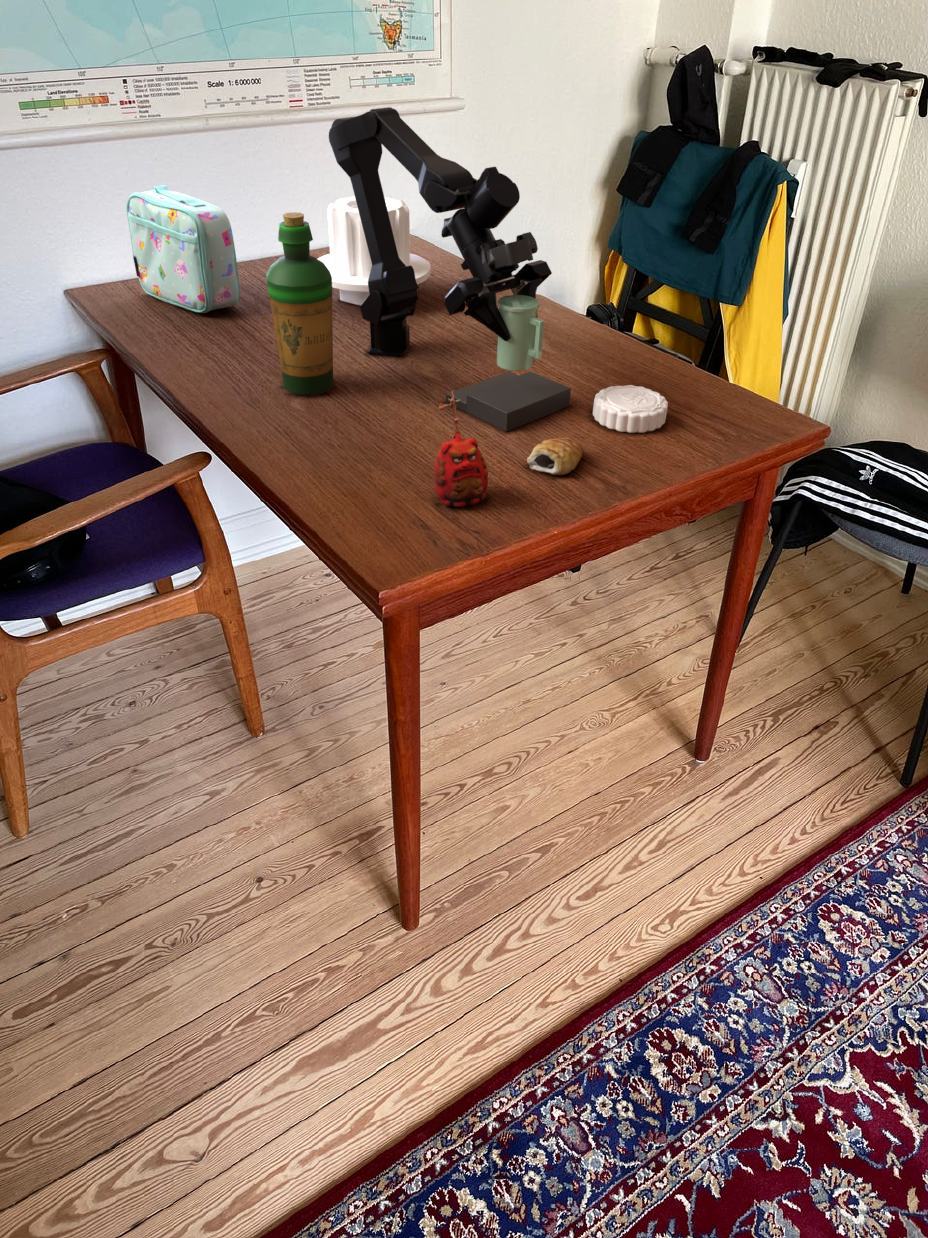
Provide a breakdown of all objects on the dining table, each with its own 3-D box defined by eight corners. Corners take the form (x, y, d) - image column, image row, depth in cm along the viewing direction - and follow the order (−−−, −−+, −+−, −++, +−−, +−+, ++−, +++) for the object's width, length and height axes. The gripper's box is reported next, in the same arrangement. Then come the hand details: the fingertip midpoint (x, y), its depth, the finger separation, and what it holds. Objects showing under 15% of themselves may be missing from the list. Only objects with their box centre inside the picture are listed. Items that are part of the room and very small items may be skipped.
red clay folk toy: (445, 514, 124) (446, 413, 115) (425, 491, 129) (424, 391, 120) (495, 503, 127) (499, 403, 117) (473, 480, 132) (476, 382, 122)
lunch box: (130, 292, 194) (108, 183, 180) (171, 281, 200) (152, 175, 187) (207, 323, 180) (189, 208, 167) (248, 310, 186) (234, 198, 173)
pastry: (555, 445, 141) (557, 422, 139) (593, 457, 138) (596, 434, 136) (523, 468, 135) (525, 444, 133) (562, 481, 132) (565, 458, 130)
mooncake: (680, 423, 148) (684, 402, 146) (624, 440, 143) (627, 419, 141) (632, 396, 156) (635, 376, 154) (577, 411, 151) (579, 391, 149)
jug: (486, 362, 147) (489, 300, 141) (515, 352, 150) (518, 291, 144) (523, 379, 142) (528, 315, 136) (552, 368, 145) (558, 306, 139)
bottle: (289, 404, 151) (270, 227, 134) (269, 380, 158) (249, 210, 141) (349, 393, 155) (338, 219, 138) (326, 370, 162) (314, 203, 145)
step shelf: (446, 402, 153) (446, 384, 151) (508, 379, 161) (509, 362, 159) (506, 431, 144) (507, 413, 142) (569, 406, 153) (571, 388, 151)
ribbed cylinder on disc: (453, 294, 197) (454, 200, 185) (384, 327, 180) (381, 227, 168) (361, 273, 207) (357, 183, 196) (288, 303, 190) (279, 206, 179)
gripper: (458, 225, 131) (506, 322, 131) (548, 205, 141) (593, 296, 141) (423, 267, 140) (469, 358, 140) (510, 246, 150) (552, 331, 150)
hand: (522, 335), depth 143 cm, fingers closed on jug, 6 cm apart
